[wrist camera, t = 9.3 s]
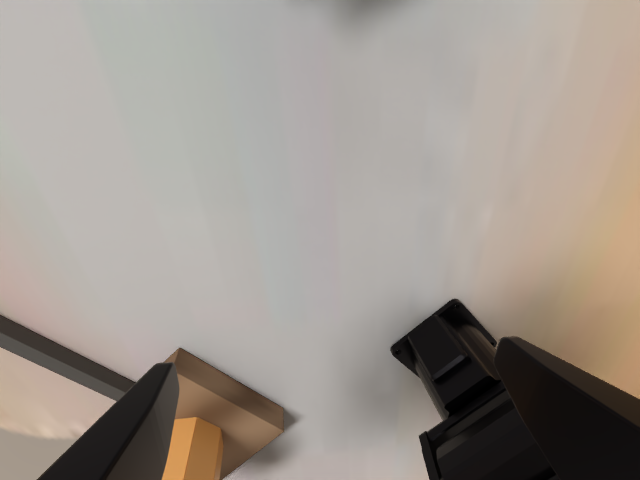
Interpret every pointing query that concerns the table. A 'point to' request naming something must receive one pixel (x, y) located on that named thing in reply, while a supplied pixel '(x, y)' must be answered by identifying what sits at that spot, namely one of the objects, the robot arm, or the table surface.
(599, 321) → the table surface
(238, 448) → the peg block
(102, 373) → the bar
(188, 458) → the orange domed octagonal post
